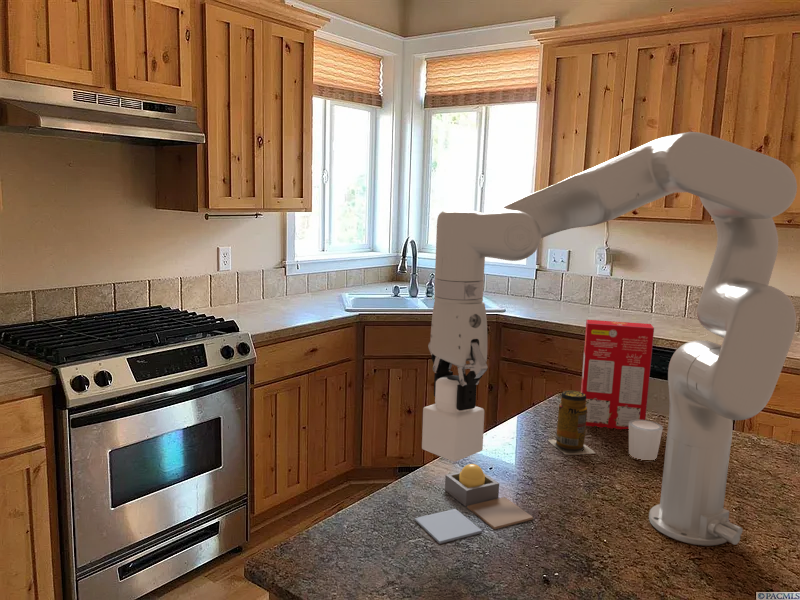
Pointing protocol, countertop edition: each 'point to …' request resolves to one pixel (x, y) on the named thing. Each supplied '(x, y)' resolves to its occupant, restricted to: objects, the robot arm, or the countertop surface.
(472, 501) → the dome housing
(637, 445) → the white tapered cylinder
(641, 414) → the food packaging
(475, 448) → the medicine bottle
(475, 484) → the dome
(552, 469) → the countertop surface
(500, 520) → the step square
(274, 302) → the countertop surface
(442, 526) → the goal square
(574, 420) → the condiment
